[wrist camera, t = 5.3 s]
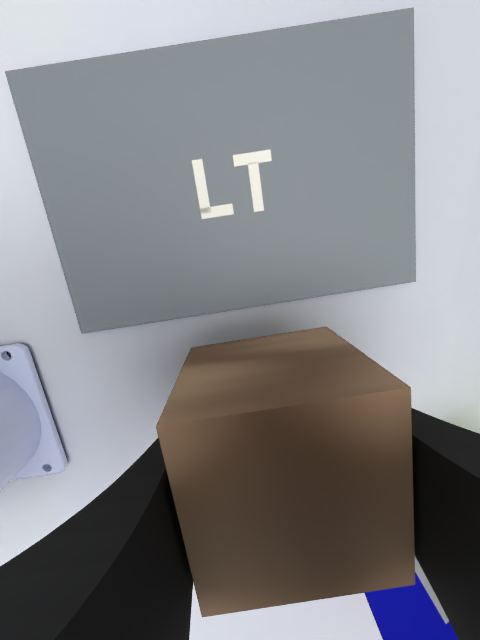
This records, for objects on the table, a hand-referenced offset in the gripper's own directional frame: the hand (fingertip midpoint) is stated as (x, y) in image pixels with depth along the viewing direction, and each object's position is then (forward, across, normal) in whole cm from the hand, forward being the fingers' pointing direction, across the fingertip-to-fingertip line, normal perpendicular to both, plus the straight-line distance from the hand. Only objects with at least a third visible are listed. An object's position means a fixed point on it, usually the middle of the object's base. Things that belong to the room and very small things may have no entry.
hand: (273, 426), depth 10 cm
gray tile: (+7, 0, -9) cm, 11 cm away
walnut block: (+1, 0, 0) cm, 1 cm away
